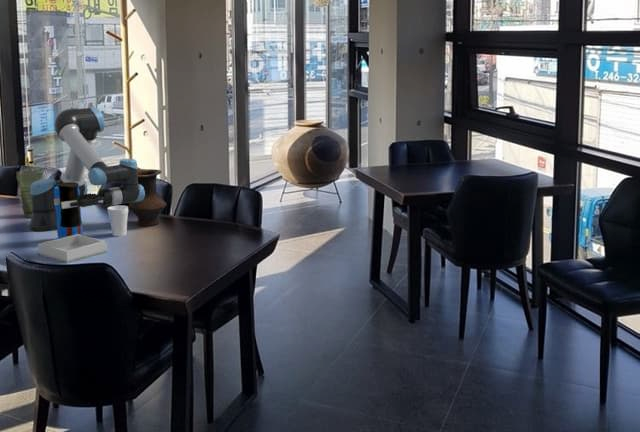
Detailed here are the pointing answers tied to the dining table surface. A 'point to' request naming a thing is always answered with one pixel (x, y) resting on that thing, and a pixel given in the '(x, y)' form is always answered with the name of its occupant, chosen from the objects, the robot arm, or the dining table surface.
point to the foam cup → (118, 219)
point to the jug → (148, 199)
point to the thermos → (60, 230)
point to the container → (69, 215)
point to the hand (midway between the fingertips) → (58, 203)
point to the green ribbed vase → (27, 187)
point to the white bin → (72, 248)
